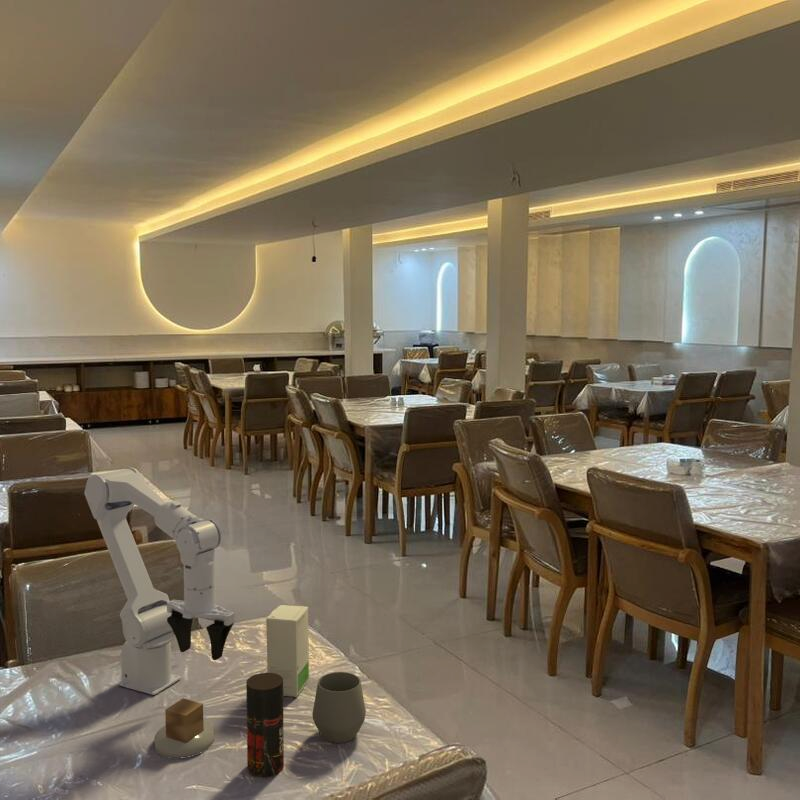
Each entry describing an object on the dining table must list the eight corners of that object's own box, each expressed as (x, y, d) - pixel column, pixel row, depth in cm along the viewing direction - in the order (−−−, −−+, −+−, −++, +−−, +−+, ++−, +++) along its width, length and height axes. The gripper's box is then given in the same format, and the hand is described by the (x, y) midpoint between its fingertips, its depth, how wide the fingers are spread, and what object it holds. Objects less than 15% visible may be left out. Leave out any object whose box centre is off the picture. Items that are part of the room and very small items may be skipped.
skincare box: (296, 698, 153) (296, 621, 151) (264, 694, 154) (263, 618, 152) (310, 678, 161) (310, 605, 159) (279, 675, 162) (279, 602, 160)
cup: (324, 754, 134) (324, 699, 132) (304, 728, 142) (304, 676, 141) (374, 741, 138) (374, 687, 137) (352, 716, 146) (352, 665, 145)
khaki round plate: (142, 753, 134) (142, 742, 134) (178, 725, 144) (178, 714, 143) (191, 766, 131) (190, 755, 130) (225, 736, 140) (225, 726, 140)
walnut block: (166, 737, 136) (165, 709, 135) (183, 724, 140) (182, 698, 139) (186, 743, 134) (185, 715, 133) (203, 730, 138) (203, 703, 138)
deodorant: (249, 757, 133) (248, 673, 131) (284, 756, 133) (284, 672, 131) (245, 778, 127) (244, 690, 125) (282, 777, 127) (282, 689, 125)
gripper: (154, 585, 147) (156, 654, 149) (217, 598, 141) (218, 670, 143) (180, 574, 153) (181, 640, 155) (241, 586, 147) (242, 655, 149)
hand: (201, 654), depth 149 cm, fingers open, 7 cm apart
